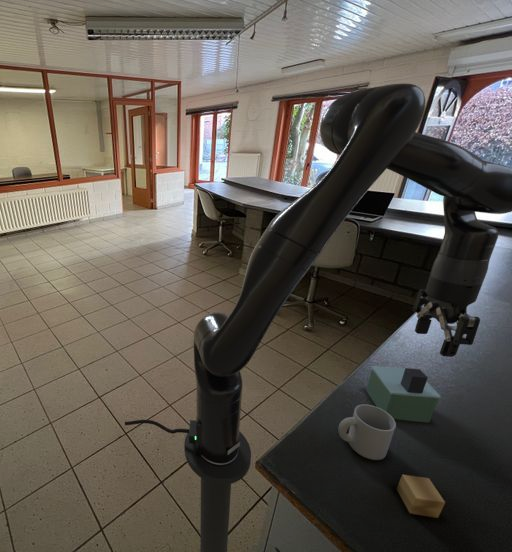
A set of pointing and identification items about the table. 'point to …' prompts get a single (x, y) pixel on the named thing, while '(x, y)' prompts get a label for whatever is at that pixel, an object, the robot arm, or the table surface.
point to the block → (420, 496)
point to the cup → (368, 431)
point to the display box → (400, 402)
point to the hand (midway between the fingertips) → (432, 343)
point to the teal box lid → (405, 381)
